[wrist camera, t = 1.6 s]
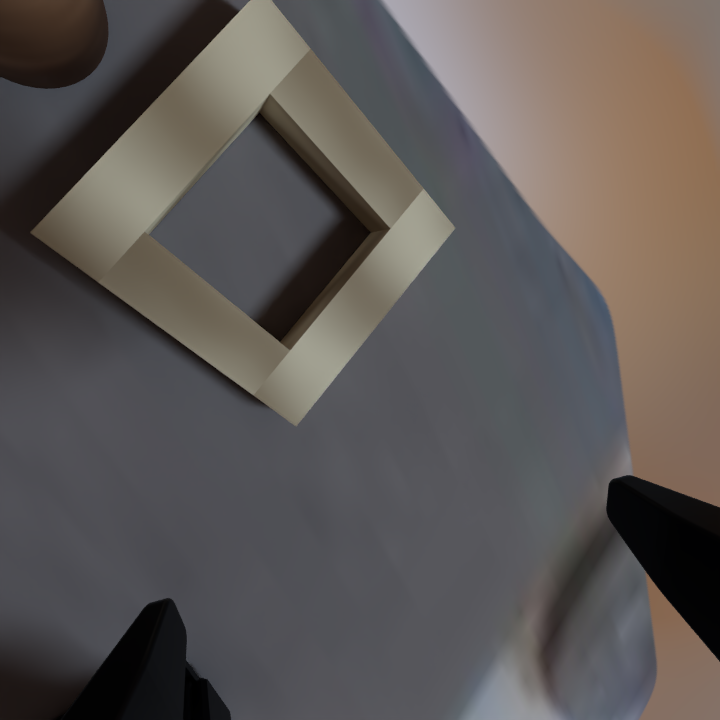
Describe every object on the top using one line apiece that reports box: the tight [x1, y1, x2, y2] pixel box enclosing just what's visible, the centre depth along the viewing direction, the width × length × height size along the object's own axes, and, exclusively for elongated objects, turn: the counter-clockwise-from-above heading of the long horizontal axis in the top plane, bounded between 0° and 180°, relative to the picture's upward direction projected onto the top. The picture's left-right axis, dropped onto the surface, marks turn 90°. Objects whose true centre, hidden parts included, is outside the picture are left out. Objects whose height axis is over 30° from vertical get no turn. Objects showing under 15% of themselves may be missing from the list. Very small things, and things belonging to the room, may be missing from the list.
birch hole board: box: [30, 0, 455, 426], centre depth 17 cm, size 11×11×2 cm
